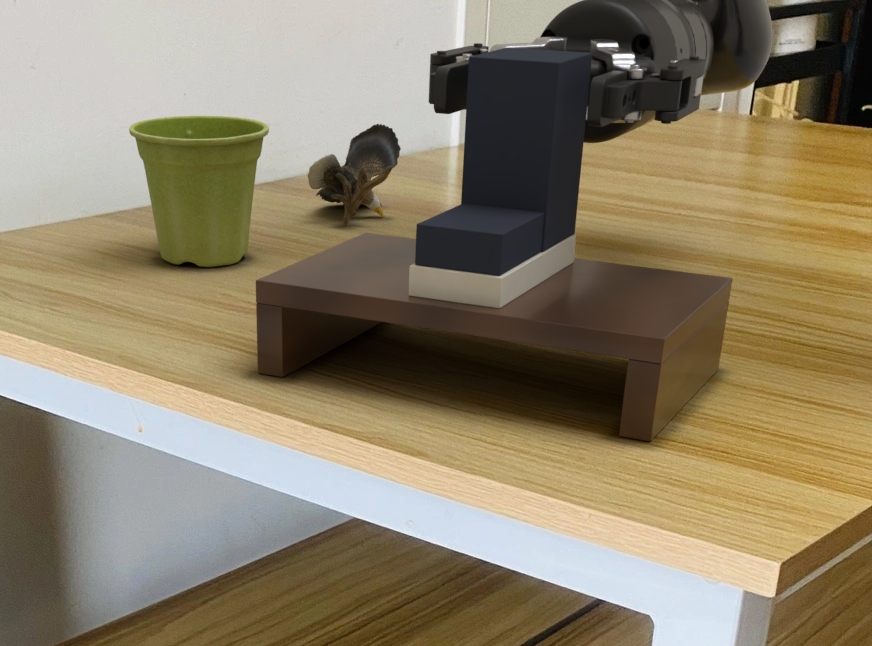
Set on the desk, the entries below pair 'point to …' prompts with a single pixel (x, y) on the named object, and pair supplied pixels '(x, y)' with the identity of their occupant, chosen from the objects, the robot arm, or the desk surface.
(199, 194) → the plant pot
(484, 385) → the desk surface
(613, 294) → the monitor riser stand
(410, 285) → the boot
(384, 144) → the eagle figurine
